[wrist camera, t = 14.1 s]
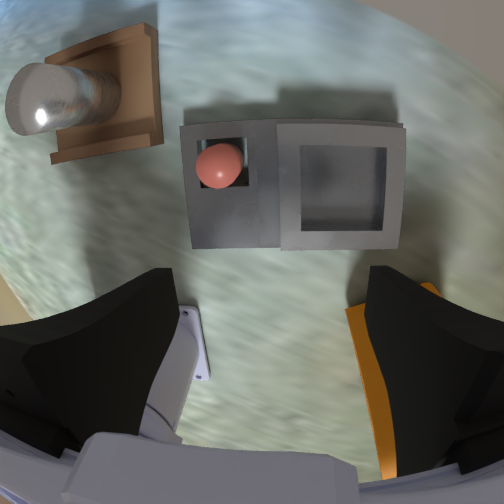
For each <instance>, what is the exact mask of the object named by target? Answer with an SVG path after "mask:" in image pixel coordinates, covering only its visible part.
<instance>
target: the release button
mask: <svg viewBox="0 0 504 504" xmlns="http://www.w3.org/2000/svg"><path fill="white" fill-rule="evenodd" d="M243 167H244V156H243V154H242V152H241V150H240V149H239V148H238V147H237V146H235V145H234V144H231V143H219V144H216V145H213V146H211V147H208V148H206V149H205V150H203V151H202V152H201V153H200V155H199V156H198V158H197V161H196V172H197V175H198V177H199V179H200V180H201V181H202V182H203V183H204V184H205V185H207V186H208V187H211V188H216V189H219V188H224V187H227V186H229V185H230V184H232V183H233V182H234V180H235V179H236V178H237V177H238V175H239V174H240V173H241V171H242V169H243Z"/></svg>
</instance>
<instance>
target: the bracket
mask: <svg viewBox="0 0 504 504" xmlns="http://www.w3.org/2000/svg"><path fill="white" fill-rule="evenodd" d="M419 285H421V286H423V287H424V288H426V289H428V290H429V291H431V292H433V293H435V294H436V295H438V296H440V297H442V296H441V295H440V293H439V292H438V291H437V289H436V288H435V287H434V286H433V284H431V283H422V284H419ZM442 298H443V297H442ZM364 310H365V303H363V304H360V305H357V306H353V307H350V308H347V309H345V311H346V315H347V319H348V323H349V327H350V332H351V336H352V340H353V344H354V348H355V353H356V357H357V361H358V366H359V370H360V375H361V379H362V383H363V388H364V393H365V398H366V402H367V407H368V411H369V416H370V421H371V425H372V430H373V435H374V440H375V444H376V450H377V455H378V460H379V465H380V471H381V476H382V480H386V479H389V478H393V477H396V476H397V469H396V451H395V439H394V430H393V423H392V415H391V409H390V404H389V398H388V393H387V389H386V385H385V382H384V379H383V376H382V373H381V370H380V367H379V364H378V361H377V359H376V356H375V353H374V350H373V347H372V344H371V342H370V339H369V336H368V331H367V327H366V322H365V317H364Z"/></svg>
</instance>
